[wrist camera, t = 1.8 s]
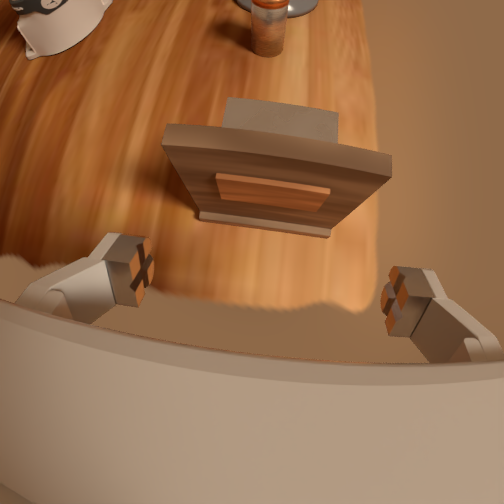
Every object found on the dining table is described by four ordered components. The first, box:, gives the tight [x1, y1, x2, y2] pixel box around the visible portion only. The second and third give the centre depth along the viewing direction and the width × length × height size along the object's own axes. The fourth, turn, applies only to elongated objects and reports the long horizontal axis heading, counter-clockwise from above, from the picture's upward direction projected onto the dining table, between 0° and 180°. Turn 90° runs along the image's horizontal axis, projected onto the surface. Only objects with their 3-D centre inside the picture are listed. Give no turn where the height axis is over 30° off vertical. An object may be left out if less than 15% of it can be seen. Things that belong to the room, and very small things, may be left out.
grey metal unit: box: [222, 97, 338, 144], centre depth 25 cm, size 4×8×8 cm, turn 82°
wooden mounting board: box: [161, 124, 392, 238], centre depth 27 cm, size 8×14×18 cm, turn 82°
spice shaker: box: [251, 0, 289, 57], centre depth 33 cm, size 5×5×11 cm
